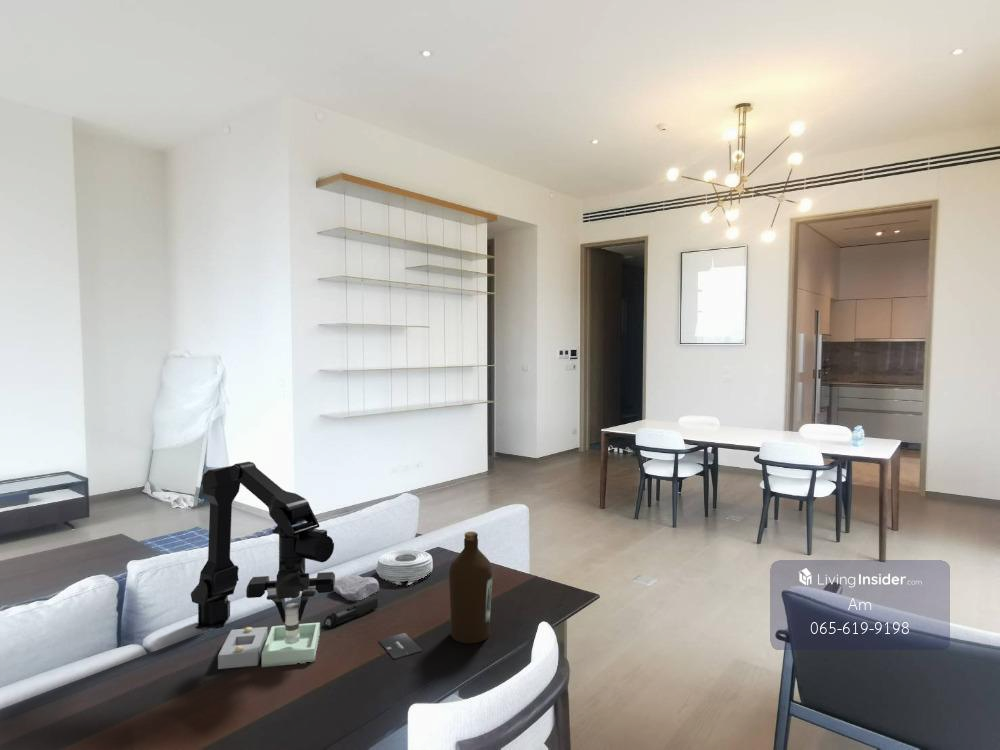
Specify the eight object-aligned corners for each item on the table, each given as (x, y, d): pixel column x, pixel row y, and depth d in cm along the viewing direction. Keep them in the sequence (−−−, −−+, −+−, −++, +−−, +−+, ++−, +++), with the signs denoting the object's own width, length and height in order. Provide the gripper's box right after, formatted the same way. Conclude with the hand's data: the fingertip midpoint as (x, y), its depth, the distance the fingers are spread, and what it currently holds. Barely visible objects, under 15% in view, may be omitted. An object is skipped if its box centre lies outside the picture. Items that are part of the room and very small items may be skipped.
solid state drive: (394, 661, 130) (394, 658, 130) (377, 642, 138) (377, 639, 138) (422, 653, 134) (422, 650, 134) (405, 635, 142) (405, 632, 142)
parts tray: (261, 667, 126) (261, 653, 126) (271, 638, 139) (271, 626, 139) (314, 662, 128) (314, 648, 128) (319, 634, 141) (319, 622, 141)
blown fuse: (283, 644, 132) (283, 609, 131) (285, 637, 135) (285, 604, 134) (298, 643, 132) (298, 608, 132) (300, 636, 135) (300, 602, 135)
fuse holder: (218, 669, 125) (218, 652, 125) (231, 642, 137) (231, 627, 137) (257, 665, 127) (257, 649, 127) (267, 639, 139) (267, 624, 138)
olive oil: (447, 645, 136) (448, 540, 136) (449, 624, 147) (450, 527, 146) (492, 645, 137) (493, 540, 136) (491, 624, 147) (492, 527, 147)
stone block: (358, 610, 160) (382, 590, 168) (355, 594, 159) (379, 575, 167) (328, 601, 166) (353, 583, 174) (325, 586, 165) (350, 569, 173)
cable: (405, 590, 169) (405, 569, 169) (363, 577, 179) (363, 557, 179) (443, 572, 184) (444, 553, 184) (403, 561, 193) (403, 543, 193)
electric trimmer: (381, 611, 156) (381, 599, 156) (330, 630, 144) (330, 618, 144) (372, 607, 158) (372, 595, 158) (322, 626, 146) (322, 613, 146)
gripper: (240, 569, 123) (240, 641, 124) (331, 563, 127) (331, 634, 128) (251, 552, 134) (251, 618, 134) (335, 547, 138) (335, 612, 138)
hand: (292, 621), depth 133 cm, fingers closed on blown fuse, 3 cm apart
